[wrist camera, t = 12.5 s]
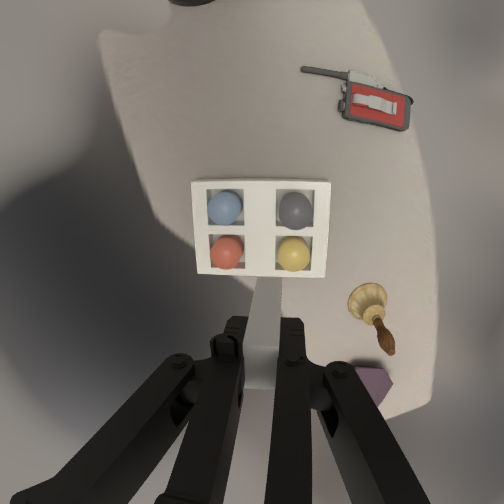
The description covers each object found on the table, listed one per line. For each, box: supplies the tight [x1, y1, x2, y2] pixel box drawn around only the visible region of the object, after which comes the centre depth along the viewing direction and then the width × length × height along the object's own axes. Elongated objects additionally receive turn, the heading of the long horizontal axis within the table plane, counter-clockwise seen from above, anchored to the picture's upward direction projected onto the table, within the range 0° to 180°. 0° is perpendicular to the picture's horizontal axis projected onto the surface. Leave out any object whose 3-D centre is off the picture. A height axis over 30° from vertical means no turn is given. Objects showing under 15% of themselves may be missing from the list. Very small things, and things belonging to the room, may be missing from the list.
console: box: [191, 178, 331, 278], centre depth 48 cm, size 16×22×4 cm
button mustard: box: [278, 236, 310, 272], centre depth 47 cm, size 5×5×4 cm
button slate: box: [207, 190, 243, 225], centre depth 45 cm, size 5×5×4 cm
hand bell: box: [348, 283, 395, 356], centre depth 45 cm, size 8×8×16 cm
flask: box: [354, 366, 393, 407], centre depth 51 cm, size 16×16×20 cm
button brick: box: [210, 234, 244, 270], centre depth 48 cm, size 5×5×4 cm
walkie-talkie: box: [301, 66, 413, 131], centre depth 38 cm, size 9×4×20 cm
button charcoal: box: [279, 192, 313, 230], centre depth 42 cm, size 5×5×4 cm
